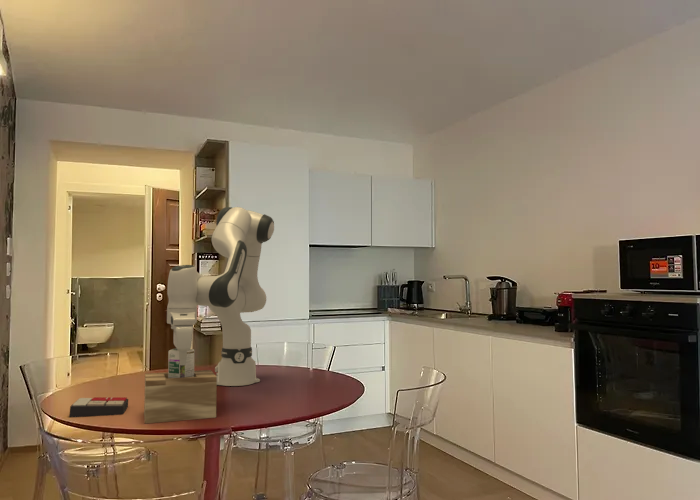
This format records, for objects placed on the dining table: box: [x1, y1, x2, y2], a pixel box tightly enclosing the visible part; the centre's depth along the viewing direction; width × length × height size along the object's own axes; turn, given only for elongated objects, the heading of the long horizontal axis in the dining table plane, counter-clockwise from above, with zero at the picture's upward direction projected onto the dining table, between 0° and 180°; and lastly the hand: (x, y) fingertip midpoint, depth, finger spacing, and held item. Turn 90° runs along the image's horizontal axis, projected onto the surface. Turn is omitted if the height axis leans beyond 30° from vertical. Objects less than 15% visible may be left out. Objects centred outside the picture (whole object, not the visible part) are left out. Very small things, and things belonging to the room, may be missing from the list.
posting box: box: [143, 369, 218, 424], centre depth 166 cm, size 14×20×12 cm
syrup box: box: [167, 348, 195, 378], centre depth 166 cm, size 6×6×14 cm
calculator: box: [68, 396, 129, 418], centre depth 169 cm, size 11×4×15 cm
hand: (181, 362), depth 166 cm, fingers closed on syrup box, 8 cm apart
